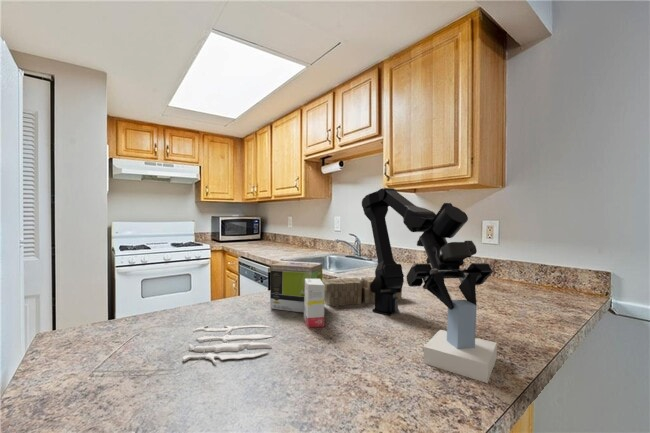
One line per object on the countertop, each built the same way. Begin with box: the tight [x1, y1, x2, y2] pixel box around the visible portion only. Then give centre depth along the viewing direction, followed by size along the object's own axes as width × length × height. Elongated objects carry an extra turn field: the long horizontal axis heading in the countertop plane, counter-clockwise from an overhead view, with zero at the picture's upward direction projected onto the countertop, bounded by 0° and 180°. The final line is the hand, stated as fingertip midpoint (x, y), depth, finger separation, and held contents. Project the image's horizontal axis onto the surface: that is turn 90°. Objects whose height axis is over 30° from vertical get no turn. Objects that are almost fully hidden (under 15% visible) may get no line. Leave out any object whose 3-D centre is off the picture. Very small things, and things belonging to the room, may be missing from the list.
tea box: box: [269, 260, 323, 314], centre depth 99 cm, size 15×10×15 cm
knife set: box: [90, 323, 275, 373], centre depth 71 cm, size 26×35×1 cm
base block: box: [422, 329, 498, 384], centre depth 64 cm, size 12×12×4 cm
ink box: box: [303, 279, 325, 328], centre depth 86 cm, size 9×5×12 cm, turn 10°
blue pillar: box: [446, 299, 478, 349], centre depth 64 cm, size 4×4×9 cm
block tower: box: [322, 276, 403, 307], centre depth 109 cm, size 8×8×29 cm
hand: (463, 308), depth 63 cm, fingers open, 5 cm apart
